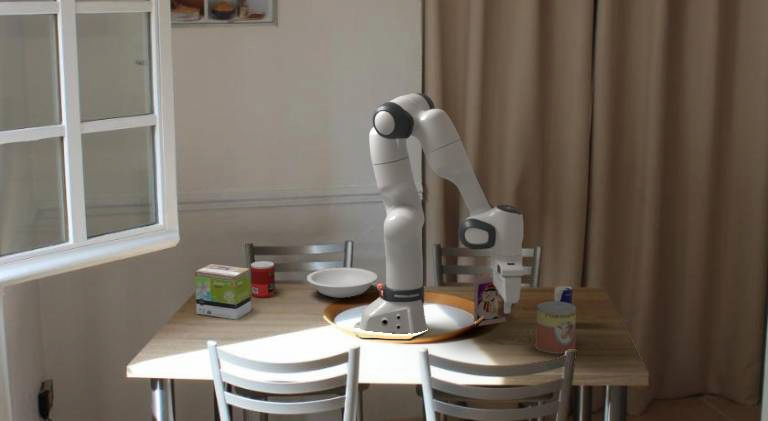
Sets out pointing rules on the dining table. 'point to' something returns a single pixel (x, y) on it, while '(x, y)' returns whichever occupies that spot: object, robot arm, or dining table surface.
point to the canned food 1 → (262, 279)
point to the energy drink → (563, 294)
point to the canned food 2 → (555, 326)
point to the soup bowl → (342, 281)
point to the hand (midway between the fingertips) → (504, 309)
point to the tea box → (223, 291)
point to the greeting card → (485, 300)
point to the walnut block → (499, 308)
